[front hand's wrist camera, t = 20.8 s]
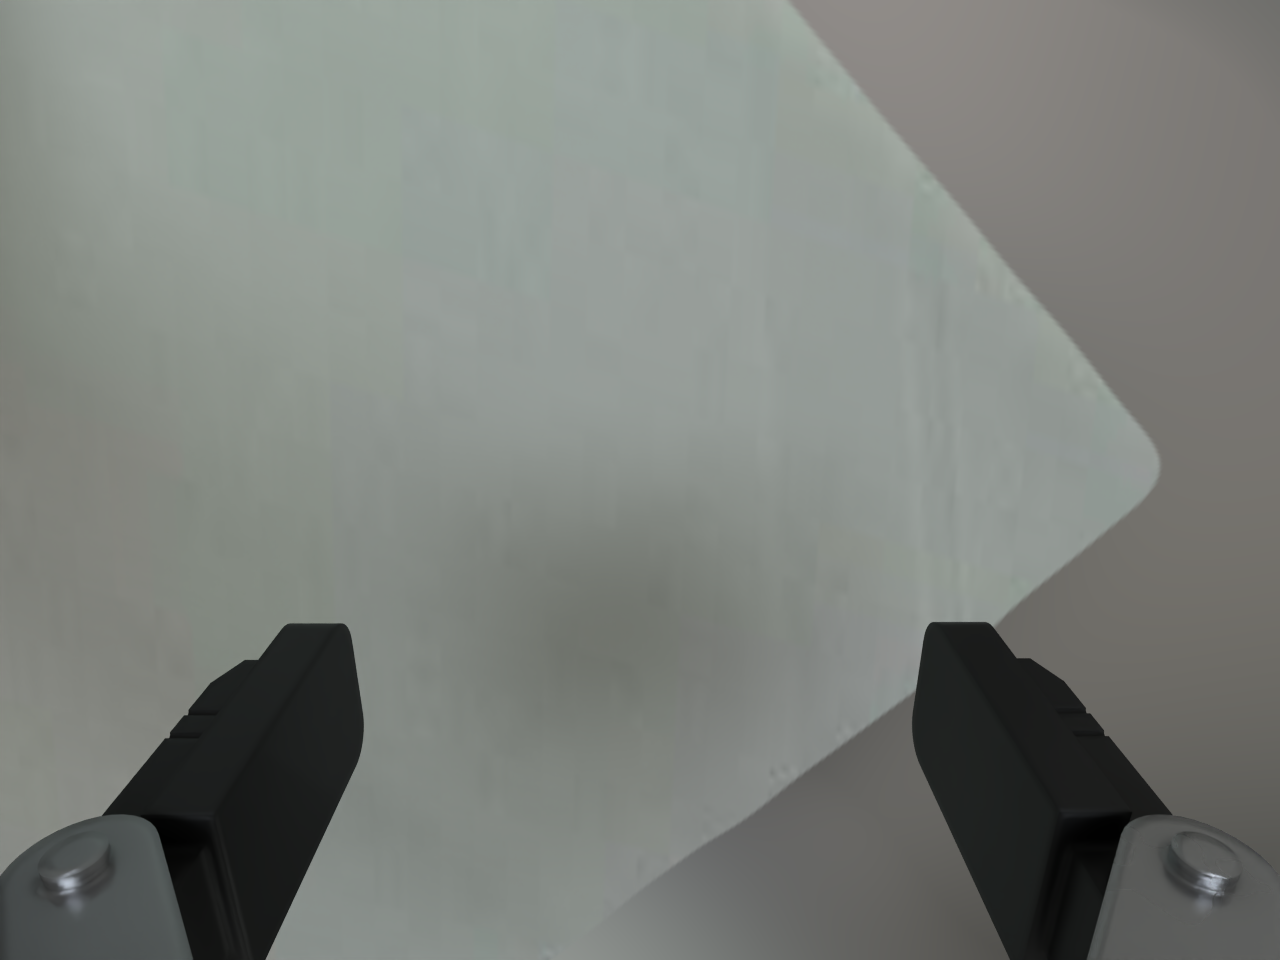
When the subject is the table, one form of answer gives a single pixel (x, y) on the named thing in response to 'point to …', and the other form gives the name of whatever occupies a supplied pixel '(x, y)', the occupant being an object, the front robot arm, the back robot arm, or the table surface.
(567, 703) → the table surface
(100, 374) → the table surface
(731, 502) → the table surface
